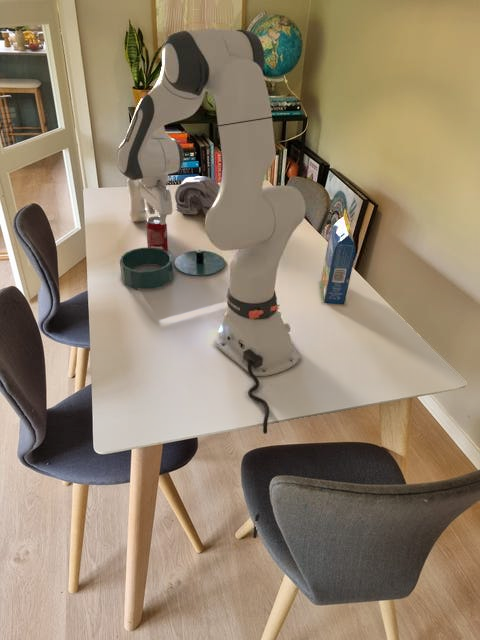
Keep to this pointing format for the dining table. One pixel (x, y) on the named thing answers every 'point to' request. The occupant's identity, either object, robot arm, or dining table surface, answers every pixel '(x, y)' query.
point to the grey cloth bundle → (196, 194)
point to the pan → (146, 278)
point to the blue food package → (338, 262)
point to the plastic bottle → (136, 202)
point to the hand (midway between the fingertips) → (156, 218)
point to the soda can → (156, 234)
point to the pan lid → (199, 263)
